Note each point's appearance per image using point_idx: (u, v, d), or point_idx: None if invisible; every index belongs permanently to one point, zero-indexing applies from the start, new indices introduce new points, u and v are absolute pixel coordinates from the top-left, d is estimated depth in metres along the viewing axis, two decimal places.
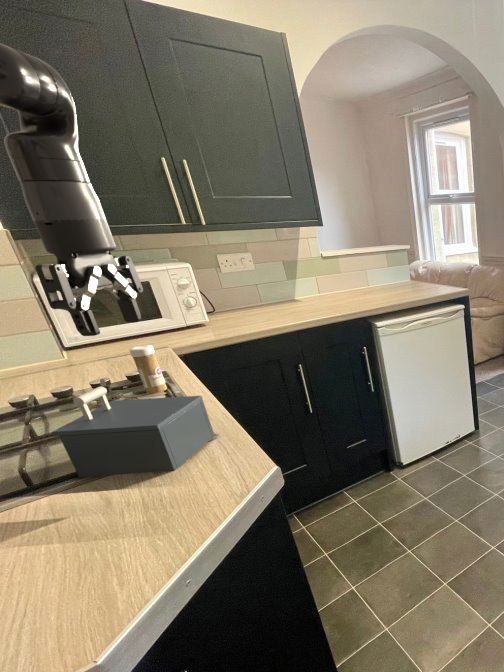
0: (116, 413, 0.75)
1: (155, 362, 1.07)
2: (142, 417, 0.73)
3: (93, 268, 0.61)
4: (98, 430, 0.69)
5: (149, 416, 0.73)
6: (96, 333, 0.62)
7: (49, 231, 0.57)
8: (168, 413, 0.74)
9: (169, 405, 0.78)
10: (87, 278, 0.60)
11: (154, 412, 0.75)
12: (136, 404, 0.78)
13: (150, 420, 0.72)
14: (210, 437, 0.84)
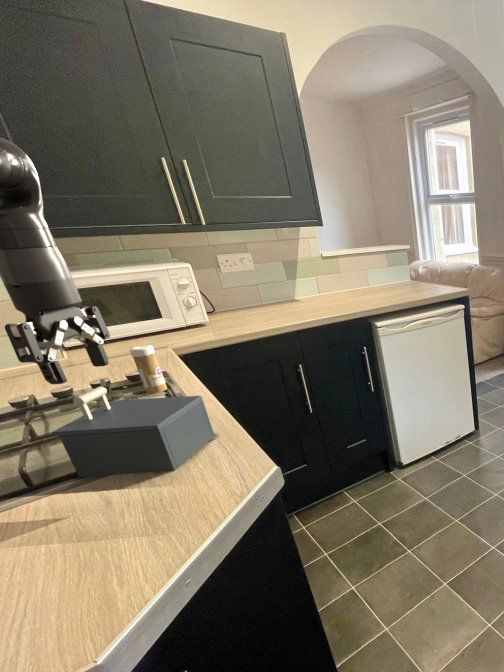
0: (116, 413, 0.75)
1: (155, 362, 1.07)
2: (142, 417, 0.73)
3: (59, 323, 0.67)
4: (98, 430, 0.69)
5: (149, 416, 0.73)
6: (62, 382, 0.68)
7: (17, 293, 0.63)
8: (168, 413, 0.74)
9: (169, 405, 0.78)
10: (54, 332, 0.66)
11: (154, 412, 0.75)
12: (136, 404, 0.78)
13: (150, 420, 0.72)
14: (210, 437, 0.84)
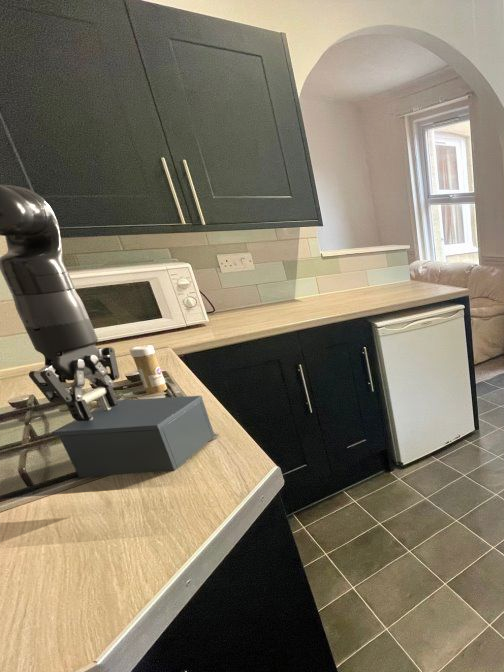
0: (116, 413, 0.75)
1: (155, 362, 1.07)
2: (142, 417, 0.73)
3: (77, 362, 0.69)
4: (98, 430, 0.69)
5: (149, 416, 0.73)
6: (88, 419, 0.72)
7: (37, 335, 0.65)
8: (168, 413, 0.74)
9: (169, 405, 0.78)
10: (74, 373, 0.69)
11: (154, 412, 0.75)
12: (136, 404, 0.78)
13: (150, 420, 0.72)
14: (210, 437, 0.84)
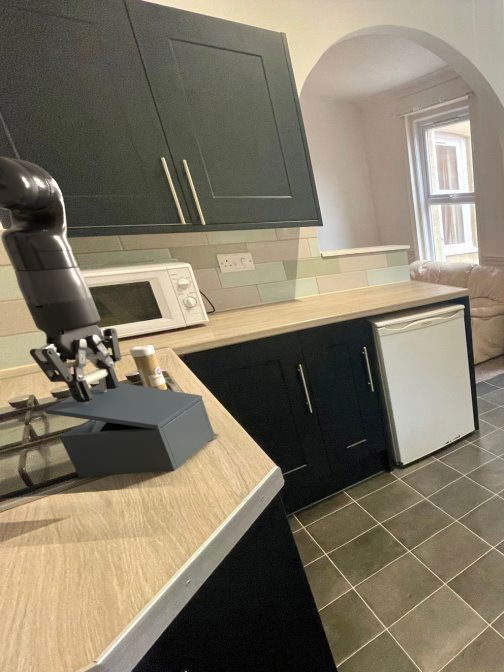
0: (113, 399, 0.74)
1: (155, 362, 1.07)
2: (141, 411, 0.73)
3: (79, 341, 0.68)
4: (95, 418, 0.69)
5: (149, 412, 0.73)
6: (89, 400, 0.70)
7: (40, 312, 0.64)
8: (168, 412, 0.74)
9: (169, 401, 0.77)
10: (76, 352, 0.68)
11: (153, 406, 0.75)
12: (133, 391, 0.77)
13: (150, 417, 0.72)
14: (210, 437, 0.84)
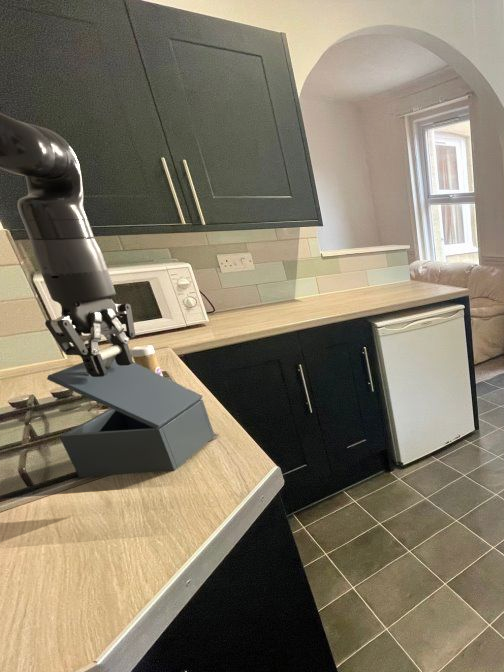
0: (117, 379, 0.73)
1: (155, 362, 1.07)
2: (144, 402, 0.72)
3: (94, 314, 0.67)
4: (97, 399, 0.67)
5: (151, 405, 0.72)
6: (103, 374, 0.69)
7: (55, 283, 0.63)
8: (170, 410, 0.74)
9: (171, 395, 0.77)
10: (91, 325, 0.67)
11: (156, 399, 0.74)
12: (137, 374, 0.76)
13: (152, 412, 0.71)
14: (210, 437, 0.84)
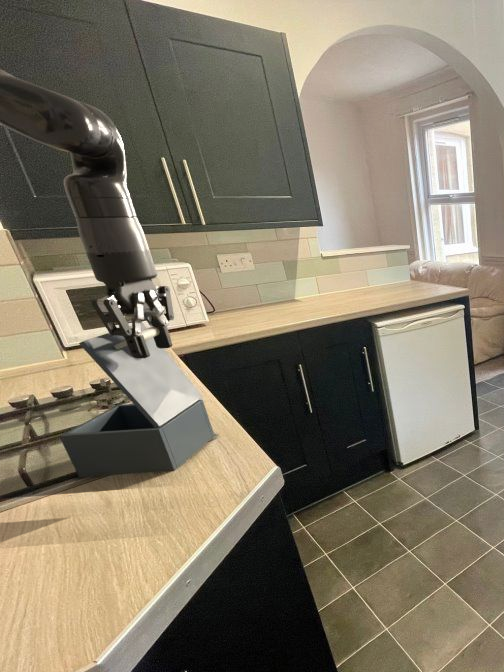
0: (138, 359, 0.72)
1: None
2: (154, 394, 0.72)
3: (137, 295, 0.66)
4: (116, 381, 0.67)
5: (159, 399, 0.72)
6: (146, 356, 0.69)
7: (101, 262, 0.62)
8: (173, 408, 0.74)
9: (178, 390, 0.77)
10: (134, 306, 0.66)
11: (165, 392, 0.74)
12: (157, 356, 0.75)
13: (158, 408, 0.71)
14: (210, 437, 0.84)
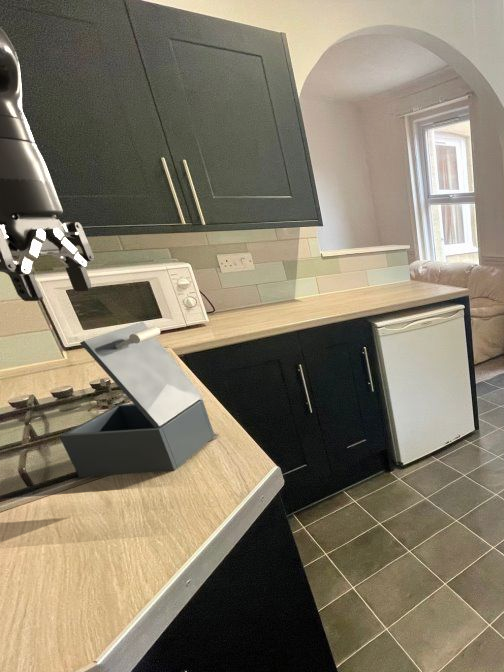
0: (139, 359, 0.72)
1: None
2: (154, 394, 0.72)
3: (36, 231, 0.59)
4: (117, 381, 0.67)
5: (159, 399, 0.72)
6: (37, 298, 0.60)
7: None
8: (173, 408, 0.74)
9: (178, 390, 0.77)
10: (29, 241, 0.59)
11: (165, 392, 0.74)
12: (157, 356, 0.75)
13: (158, 408, 0.71)
14: (210, 437, 0.84)
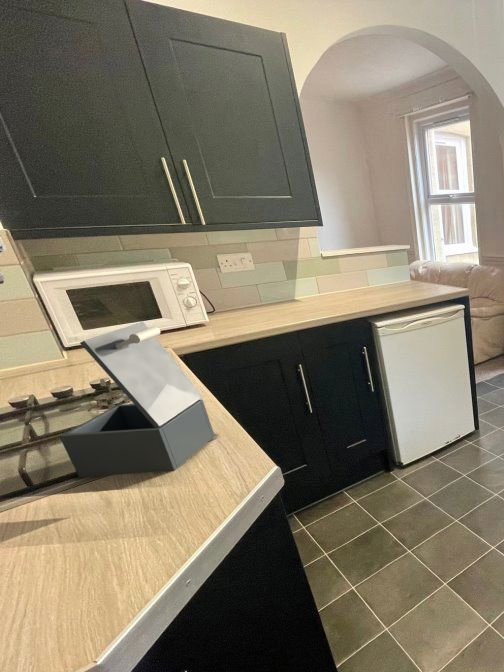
0: (139, 359, 0.72)
1: None
2: (154, 394, 0.72)
3: None
4: (117, 381, 0.67)
5: (159, 399, 0.72)
6: None
7: None
8: (173, 408, 0.74)
9: (178, 390, 0.77)
10: None
11: (165, 392, 0.74)
12: (157, 356, 0.75)
13: (158, 408, 0.71)
14: (210, 437, 0.84)
